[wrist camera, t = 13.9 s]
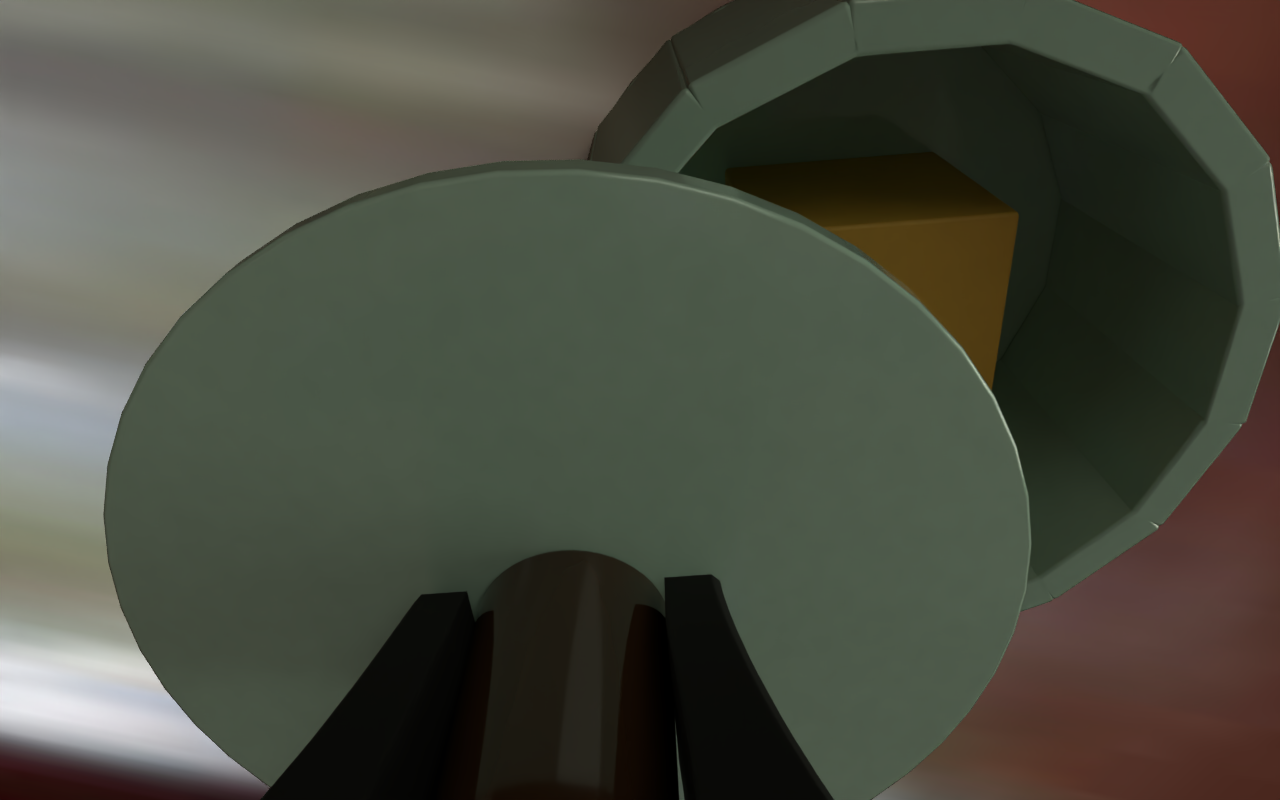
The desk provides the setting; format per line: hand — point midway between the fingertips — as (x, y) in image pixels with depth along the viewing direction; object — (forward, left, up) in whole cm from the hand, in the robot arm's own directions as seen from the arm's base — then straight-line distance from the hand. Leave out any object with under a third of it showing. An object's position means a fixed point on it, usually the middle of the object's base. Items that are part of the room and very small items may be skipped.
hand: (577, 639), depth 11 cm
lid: (0, 0, -1) cm, 1 cm away
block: (+1, -5, -10) cm, 11 cm away
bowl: (+1, -5, -10) cm, 11 cm away
